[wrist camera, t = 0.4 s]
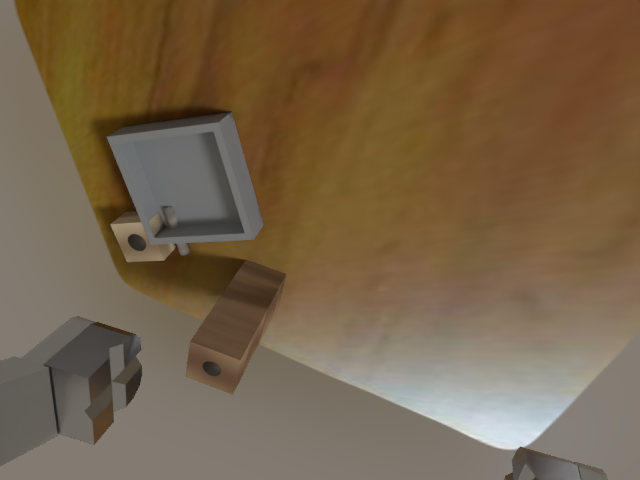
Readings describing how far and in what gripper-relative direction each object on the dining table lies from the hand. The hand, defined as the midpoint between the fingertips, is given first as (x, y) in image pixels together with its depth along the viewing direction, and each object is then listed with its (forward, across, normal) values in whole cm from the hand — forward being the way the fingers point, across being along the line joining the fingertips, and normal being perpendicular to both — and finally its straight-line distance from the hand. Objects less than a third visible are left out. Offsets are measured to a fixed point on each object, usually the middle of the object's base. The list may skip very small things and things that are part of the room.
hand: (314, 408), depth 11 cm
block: (+42, +15, +25) cm, 51 cm away
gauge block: (+41, +29, +21) cm, 54 cm away
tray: (+40, +23, +13) cm, 48 cm away
